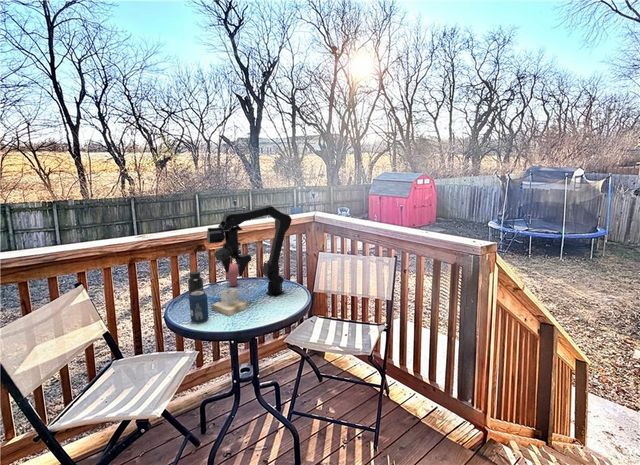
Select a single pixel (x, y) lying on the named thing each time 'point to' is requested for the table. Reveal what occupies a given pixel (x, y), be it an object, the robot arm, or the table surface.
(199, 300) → the soda can
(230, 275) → the light bulb
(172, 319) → the table surface
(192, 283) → the supplement bottle
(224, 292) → the block
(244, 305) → the thin beige square tile
